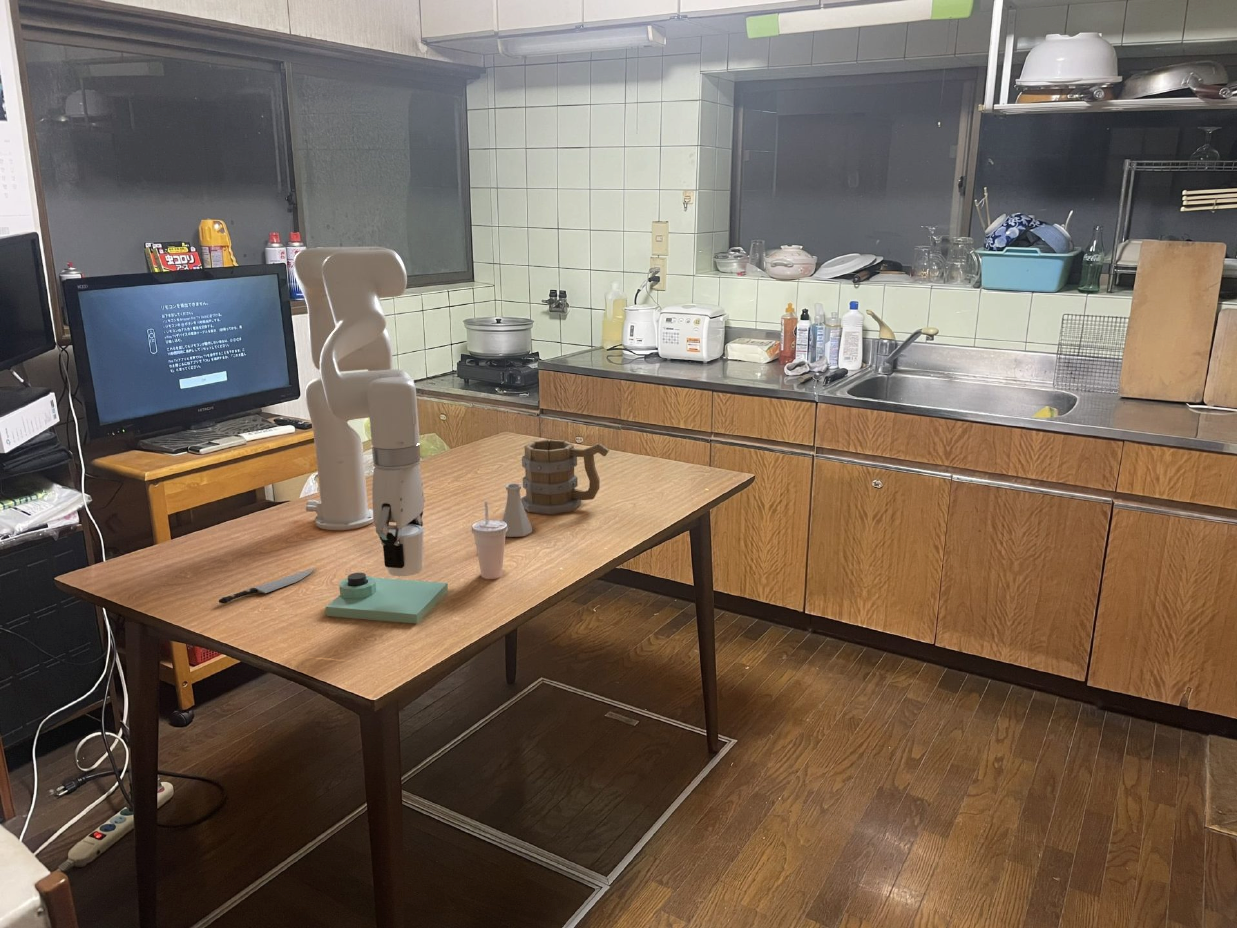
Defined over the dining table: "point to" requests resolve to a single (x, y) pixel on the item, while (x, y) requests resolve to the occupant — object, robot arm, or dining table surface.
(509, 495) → the flask
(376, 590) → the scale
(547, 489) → the tankard
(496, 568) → the smoothie
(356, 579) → the button
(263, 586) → the chef's knife
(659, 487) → the dining table surface
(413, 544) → the white tapered cup
